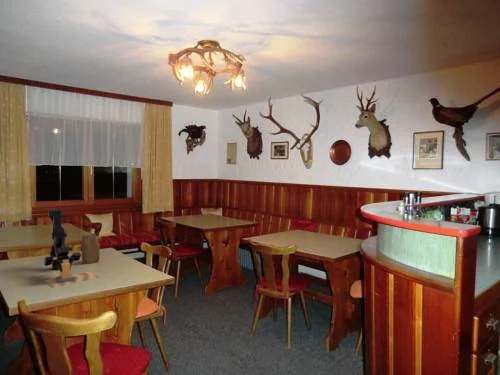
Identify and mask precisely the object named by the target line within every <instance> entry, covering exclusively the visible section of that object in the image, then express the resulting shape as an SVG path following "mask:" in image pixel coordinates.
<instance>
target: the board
mask: <svg viewBox="0 0 500 375" xmlns="http://www.w3.org/2000/svg"><path fill="white" fill-rule="evenodd" d="M72 275H73V276H74V277H75V280H74V281H69V282H64V283H59V282H58V281H57V280H56V278H55V277H54V278H50V279H49V278H48V279H44V280H43V282H44V283H45V284H46V285H47V286H49V287H50V288H51V289H52V288H57V287H62V286H63V287H64V286H67V285H72V284H77V283H81V282H85V281H90V280H94V279H95V280H96V279H99V278H101V277H100V276H98V275H97V274H95V273H93V272H91V271H85V272H81V273H75V274H72Z"/></svg>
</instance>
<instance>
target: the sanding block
mask: <svg viewBox="0 0 500 375" xmlns="http://www.w3.org/2000/svg"><path fill="white" fill-rule="evenodd" d="M60 265H61V268H62V272H60V271H59V273H60V275H59V276H58V275H57V276H55V277H56V280H57V281H58V282H59V283H64V282H69V281H74V280H75V277H74V276H73V275H74V274H72V273H71V270H70V263H69V262H68V261H65V262H64V261H63V263H60Z"/></svg>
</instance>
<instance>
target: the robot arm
mask: <svg viewBox="0 0 500 375" xmlns="http://www.w3.org/2000/svg"><path fill="white" fill-rule="evenodd" d="M47 212H48V213H47V215H48V217H49V220H50V222H51V224H52V232H50V233H51V234H50V235H51V238H50V239H52V242H53V243H52V246H51V248H50V251H49V255H48V256H45V258H44V260H43V264H44V267H46V266H51V267H49V270H54V271H58V270H59V273H60V272H62V268H61V265H60V263H63V262H64V261H66V260H68V261H67V262H69V263H70V271H71V268H72V263H74V262H78V261H79V260H81V259H80V258H82V252H80V251H77V252H72V254H71V255H69V254H70V253H69V252H70V251H72V250H73V245H72V244H68V245H67V246H66V243H65V242H66V238H67V237H68V233H67V232H66V231H65V228H64V227H63V226H62V217H63V216H64V210H62V209H61V208H52V209H51V208H50V209H49V210H48V211H47Z"/></svg>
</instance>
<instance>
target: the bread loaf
mask: <svg viewBox="0 0 500 375" xmlns="http://www.w3.org/2000/svg"><path fill="white" fill-rule="evenodd" d="M96 235H97V234H96V233H94V232H92V233H84V234H82V237H81V238H82V239H81V260H82V263H83V264H87V265H88V264H93V263H98V262H99V261H100V256H101V252H100V251H101V250H100V249H101V248H100V242H99V241H98V238H97V236H96Z"/></svg>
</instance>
